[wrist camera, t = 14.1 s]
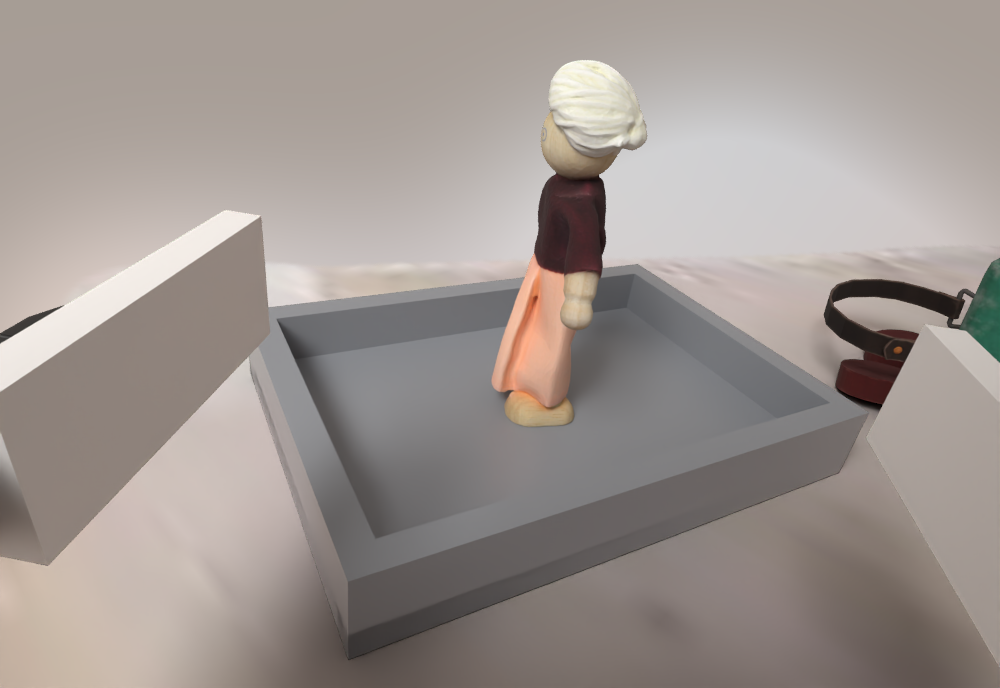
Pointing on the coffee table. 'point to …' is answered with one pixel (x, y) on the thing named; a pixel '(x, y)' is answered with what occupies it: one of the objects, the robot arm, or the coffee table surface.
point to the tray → (521, 442)
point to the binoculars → (989, 320)
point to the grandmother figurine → (566, 239)
